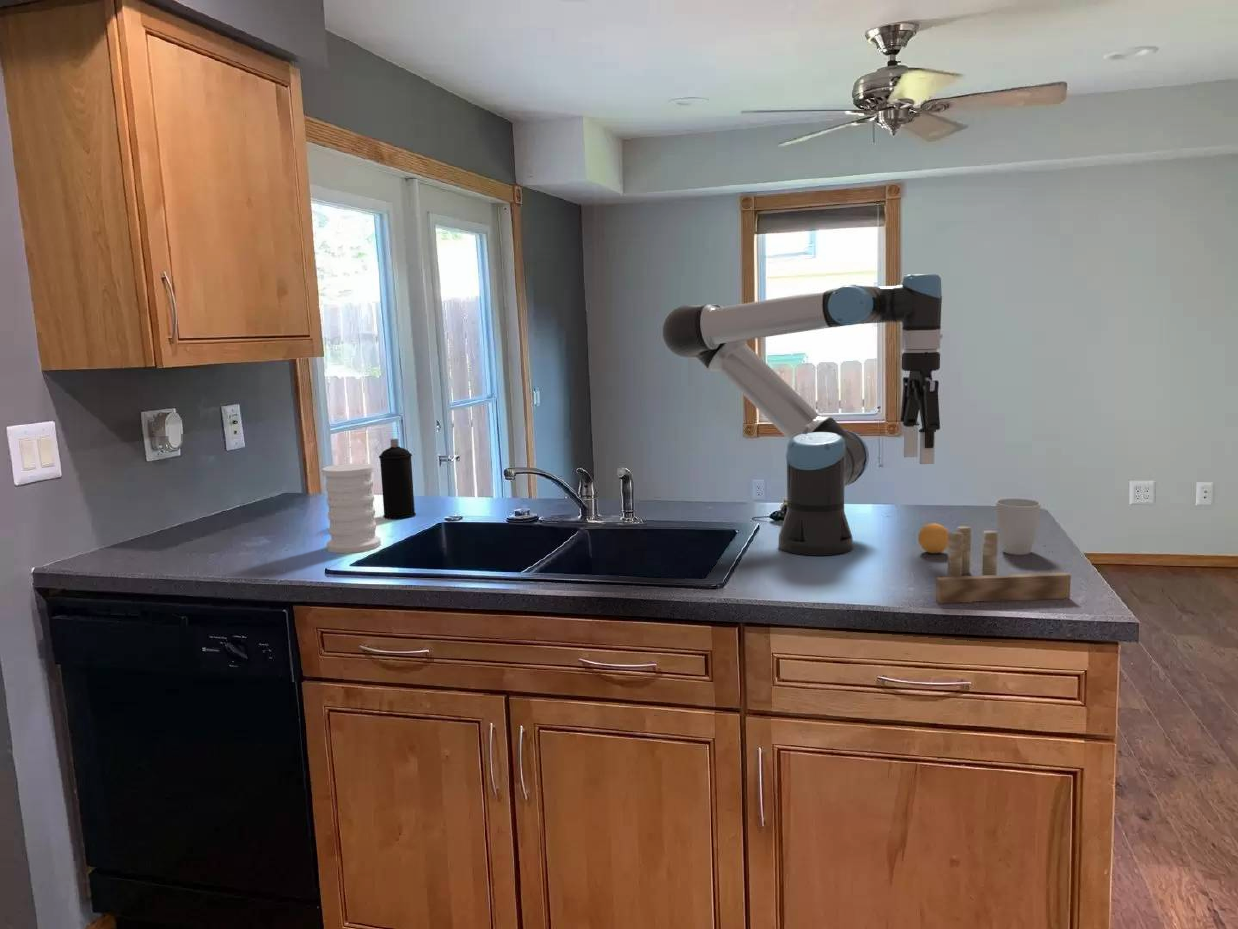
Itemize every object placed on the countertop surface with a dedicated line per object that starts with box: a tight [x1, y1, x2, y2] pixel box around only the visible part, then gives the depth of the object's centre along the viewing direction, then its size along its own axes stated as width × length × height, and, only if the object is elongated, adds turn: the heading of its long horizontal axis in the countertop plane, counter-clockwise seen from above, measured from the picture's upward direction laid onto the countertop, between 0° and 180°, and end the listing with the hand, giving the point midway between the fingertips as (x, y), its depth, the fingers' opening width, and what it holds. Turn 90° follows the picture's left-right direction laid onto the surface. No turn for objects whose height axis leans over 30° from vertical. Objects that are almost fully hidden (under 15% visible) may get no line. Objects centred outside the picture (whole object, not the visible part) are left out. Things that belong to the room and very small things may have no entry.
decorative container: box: [321, 462, 382, 554], centre depth 202 cm, size 12×12×18 cm
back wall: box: [935, 572, 1072, 604], centre depth 153 cm, size 22×2×4 cm, turn 92°
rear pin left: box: [981, 530, 999, 576], centre depth 165 cm, size 2×2×8 cm
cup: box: [995, 498, 1041, 556], centre depth 182 cm, size 8×8×10 cm
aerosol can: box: [378, 438, 417, 520], centre depth 233 cm, size 8×8×20 cm
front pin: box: [956, 525, 972, 575], centre depth 169 cm, size 2×2×8 cm
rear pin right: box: [946, 531, 963, 577], centre depth 165 cm, size 2×2×8 cm
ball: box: [917, 522, 949, 554], centre depth 183 cm, size 6×6×6 cm
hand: (918, 460), depth 190 cm, fingers open, 9 cm apart
